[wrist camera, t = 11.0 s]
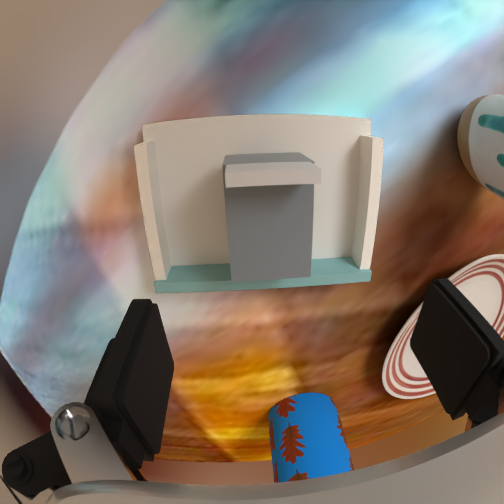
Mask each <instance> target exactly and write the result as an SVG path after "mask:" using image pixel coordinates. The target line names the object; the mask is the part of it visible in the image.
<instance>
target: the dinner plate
mask: <svg viewBox="0 0 504 504" xmlns="http://www.w3.org/2000/svg"><path fill="white" fill-rule="evenodd" d="M447 279H449V280H450V281H451V282H452V283H453V284H454V285H455V286H456V287H457V288H458V289H459V290H460V292H461V293H462V294H463V295H464V296H465V297H466V298H467V299H468V300H469V301H470V302H471V303H472V304H473V305H474V307H475V308H476V309H477V310H478V311H479V312H480V313H481V314H482V315H483V317H484V318H485V319H486V320H487V321H488V322H489V324H490V325H491V326H492V327H493V328H494V329H495V331H496V332H497V333H498V334H499V335H500V337H501V338H502V337H503V335H504V255H503V254H494V255H489V256H485V257H483V258H480V259H478V260H475V261H473V262H471V263H470V264H468V265H466V266H464V267H463V268H461V269H460V270H458V271H457V272H455V273H454V274H453V275H451V276H450V277H449V278H447ZM422 304H423V302H422V303H421V304H420V305H419V306H418V307H417V309H416V310H415V311H414V312H413V313H412V315H411V316H410V317H409V319H408V320H407V321H406V323H405V324H404V325H403V327H402V328H401V330H400V331H399V333H398V334H397V336H396V338H395V339H394V341H393V343H392V345H391V347H390V349H389V351H388V353H387V356H386V358H385V361H384V365H383V369H382V382H383V386H384V388H385V389H386V391H387V392H388V393H389V394H391V395H392V396H394V397H397V398H402V399H414V398H420V397H424V396H428V395H431V394H434V393H436V392H435V390H434V388H433V387H432V385H431V383H430V381H429V379H428V378H427V376H426V374H425V372H424V370H423V369H422V367H421V365H420V363H419V362H418V360H417V358H416V356H415V355H414V353H413V351H412V350H411V348H410V338H411V336H412V333H413V330H414V328H415V325H416V322H417V319H418V316H419V313H420V310H421V307H422Z"/></svg>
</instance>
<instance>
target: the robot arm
mask: <svg viewBox="0 0 504 504" xmlns="http://www.w3.org/2000/svg"><path fill="white" fill-rule="evenodd" d="M410 348H411V350H412V351H413V353H414V355H415V356H416V358H417V360H418V362H419V363H420V365H421V367H422V369H423V370H424V372H425V374H426V376H427V378H428V379H429V381H430V383H431V385H432V387H433V388H434V390H435V392H436V394H437V396H438V398H439V400H440V402H441V404H442V405H443V407H444V409H445V411H446V413H448V414H450V416H451V418H452V420H455V419H457V418H459V417H462V416H463V415H464V414H465V413H466V412H467V414H468V419H467V423H466V428H465V432H464V433H462V434H459V435H457V436H455V437H453V438H451V439H448V440H446V441H444V442H441V443H439V444H437V445H434V446H431V447H429V448H426V449H423V450H421V451H418V452H415V453H412V454H410V455H407V456H404V457H401V458H397V459H394V460H391V461H388V462H384V463H381V464H377V465H374V466H370V467H366V468H362V469H358V470H354V471H349V472H345V473H340V474H335V475H329V476H324V477H318V478H312V479H305V480H298V481H289V482H280V483H269V484H253V485H187V484H173V483H159V482H148V480H147V479H146V477H145V476H144V475H143V473H142V472H141V471H140V468H141V467H142V462H143V460H145V461H153V459H154V454H158V453H159V452H160V448H161V441H162V435H163V428H164V422H165V416H166V410H167V405H168V399H169V393H170V388H171V382H172V377H173V372H174V362H173V358H172V355H171V352H170V348H169V345H168V342H167V338H166V335H165V331H164V327H163V324H162V320H161V316H160V313H159V309H158V305H157V304H156V303H152V301H151V300H150V299H133V300H132V302H131V304H130V306H129V308H128V310H127V312H126V314H125V317H124V319H123V321H122V323H121V325H120V328H119V330H118V332H117V334H116V337H115V338H113V339H111V340H110V342H109V343H108V346H107V348H106V350H105V353H104V355H103V357H102V360H101V362H100V364H99V367H98V369H97V371H96V374H95V376H94V379H93V381H92V384H91V386H90V389H89V391H88V394H87V396H86V399H85V402H84V404H83V403H79V402H72V403H69V404H65V405H64V406H62V407H60V408H59V409H58V410H57V411H56V412H55V413H54V415H53V417H52V420H51V431H50V432H48V433H46V434H44V435H43V436H40V437H38V438H37V439H35V440H33V441H31V442H29V443H27V444H25V445H23V446H21V447H19V448H17V449H15V450H13V451H11V452H10V453H8V454H7V456H6V457H5V458H4V461H3V464H2V475H0V504H504V340H503V339H502V338H501V337H500V335H499V334H498V333H497V332H496V331H495V329H494V328H493V327H492V326H491V325H490V324H489V322H488V321H487V320H486V319H485V318H484V317H483V315H482V314H481V313H480V312H479V311H478V310H477V309H476V308H475V307H474V305H473V304H472V303H471V302H470V301H469V300H468V299H467V298H466V297H465V296H464V295H463V294H462V293H461V292H460V290H459V289H458V288H457V287H456V286H455V285H454V284H453V283H452V282H451V281H450V280H449V279H447V278H444V279H436V280H433V281H432V282H431V284H430V285H429V286H428V288H427V291H426V295H425V298H424V301H423V304H422V307H421V310H420V313H419V316H418V319H417V322H416V325H415V328H414V330H413V333H412V336H411V338H410Z"/></svg>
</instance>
